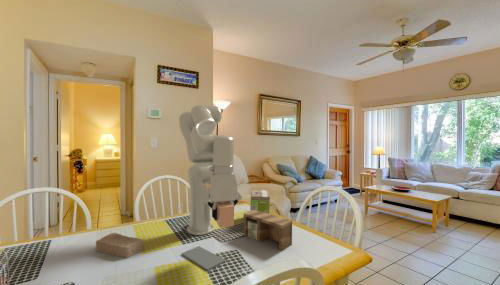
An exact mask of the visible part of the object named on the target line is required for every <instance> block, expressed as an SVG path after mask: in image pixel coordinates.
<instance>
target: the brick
mask: <svg viewBox="0 0 500 285" xmlns="http://www.w3.org/2000/svg"><path fill="white" fill-rule="evenodd" d="M95 248H96V252H99V253H102V254H107V255H113V256H116V257H121V258H130V257H132V256H134V255H135V254H137V253H139V252H141V251H142V250H144V240H143V239H141V238H139V237H129V236H127V235H123V234H121V233H117V232H112V233H109V234H107V235H105V236H102V237H101V238H100V239H98V240H96V241H95Z"/></svg>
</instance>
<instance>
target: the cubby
mask: <svg viewBox="0 0 500 285" xmlns="http://www.w3.org/2000/svg"><path fill="white" fill-rule="evenodd" d="M243 236H244V237H248V238H250V237H251V239H253V238H254V239H253V240H255V239H256V241H257V242H258V241H259V242H258V243H261V242H262V240H263V241H265V240H267V239H270V240H272V241H275V242H278V250H279V251H282V252H283V251H285V250H286V249H287V248H289V247H290V246H293V220H292V219H288V218H284V217H281V216H279V215H274V214H271V213H269V214H267V213H264V212H260V211H257V210H252V211H247V212H244V213H243ZM264 239H265V240H264ZM260 241H261V242H260Z"/></svg>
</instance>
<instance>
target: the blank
mask: <svg viewBox="0 0 500 285" xmlns="http://www.w3.org/2000/svg"><path fill="white" fill-rule="evenodd" d="M216 209H217V220H215V222H216V224H217V225H218V227H219V228H220V229H221V228H229V227H235V207H234V206H233V205H232V204H231V202H230V201H227V202H217V205H216Z"/></svg>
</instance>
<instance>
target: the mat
mask: <svg viewBox="0 0 500 285" xmlns="http://www.w3.org/2000/svg"><path fill="white" fill-rule="evenodd" d="M181 256H183V257H185V258H186V259H187V260H189V261H191V262H193V263H194V264H196V265H197V266H199V267H200V268H202V269H203V270H205V271H207V272H209V271H210V270H212V269H214V268H216V267H218V266H220V265H222V264H223V263H226V259H224V258H223V257H220V256H218V255H217V254H215V253H213V252H211V251H210V250H207V249H205V248H204V247H202V246H200V245H198V246H196V247H193V248H191V249H189V250H186V251H184V252H181ZM221 263H222V264H221Z"/></svg>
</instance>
